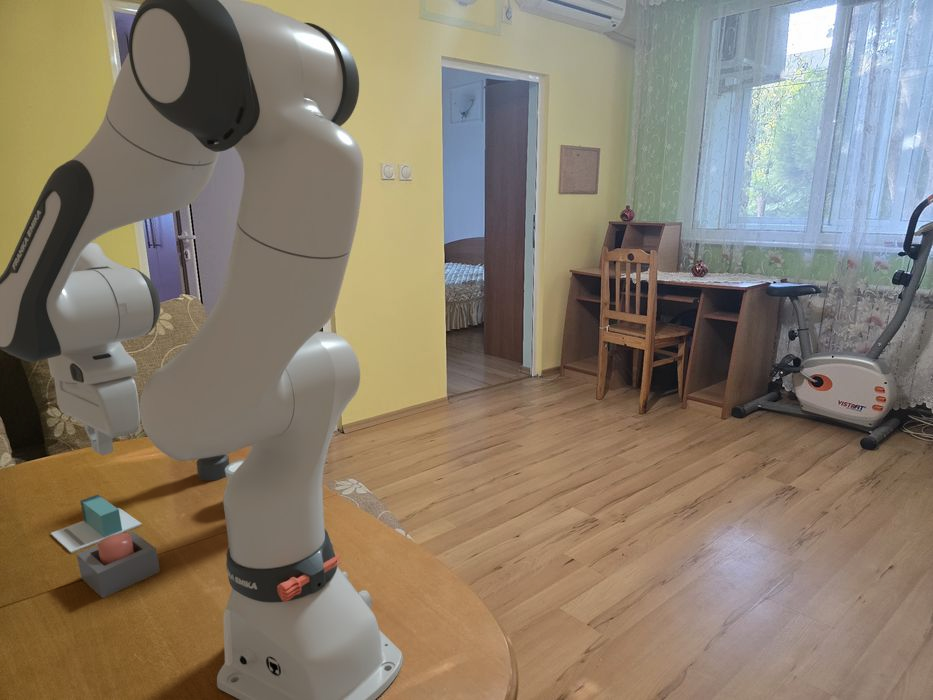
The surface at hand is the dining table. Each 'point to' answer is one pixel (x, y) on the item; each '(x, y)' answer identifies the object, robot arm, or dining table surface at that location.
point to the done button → (115, 548)
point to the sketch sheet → (89, 533)
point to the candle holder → (212, 467)
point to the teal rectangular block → (101, 515)
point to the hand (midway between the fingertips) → (103, 451)
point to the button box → (118, 567)
